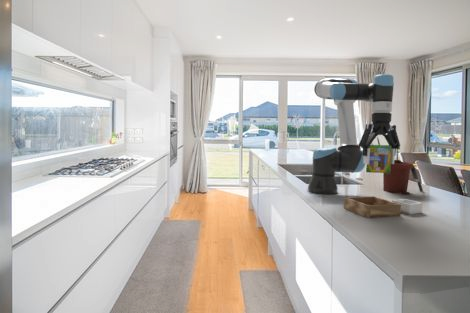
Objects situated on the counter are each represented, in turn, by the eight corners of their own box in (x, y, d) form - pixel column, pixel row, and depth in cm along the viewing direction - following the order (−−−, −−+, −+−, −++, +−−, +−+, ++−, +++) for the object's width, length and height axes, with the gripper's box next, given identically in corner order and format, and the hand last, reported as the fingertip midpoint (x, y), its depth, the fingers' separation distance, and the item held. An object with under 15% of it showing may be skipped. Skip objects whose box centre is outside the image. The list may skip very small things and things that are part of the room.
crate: (343, 208, 135) (344, 197, 134) (373, 206, 139) (374, 196, 139) (368, 217, 120) (368, 206, 120) (400, 215, 125) (401, 204, 124)
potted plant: (380, 186, 188) (383, 144, 186) (422, 191, 178) (426, 146, 176) (378, 191, 172) (381, 145, 170) (424, 196, 162) (428, 147, 160)
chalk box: (389, 174, 129) (392, 137, 128) (365, 172, 133) (367, 136, 132) (390, 172, 137) (392, 137, 136) (367, 170, 141) (369, 136, 140)
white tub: (391, 209, 134) (392, 200, 134) (403, 207, 138) (404, 198, 137) (409, 214, 127) (409, 204, 127) (421, 212, 130) (422, 202, 130)
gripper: (363, 110, 126) (361, 164, 127) (411, 113, 133) (408, 164, 135) (351, 111, 133) (348, 163, 135) (397, 114, 141) (394, 162, 142)
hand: (378, 163), depth 135 cm, fingers closed on chalk box, 12 cm apart
